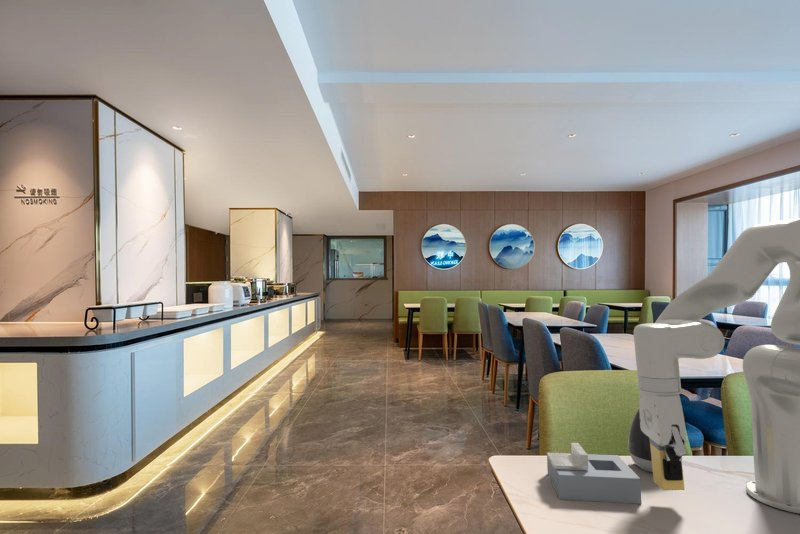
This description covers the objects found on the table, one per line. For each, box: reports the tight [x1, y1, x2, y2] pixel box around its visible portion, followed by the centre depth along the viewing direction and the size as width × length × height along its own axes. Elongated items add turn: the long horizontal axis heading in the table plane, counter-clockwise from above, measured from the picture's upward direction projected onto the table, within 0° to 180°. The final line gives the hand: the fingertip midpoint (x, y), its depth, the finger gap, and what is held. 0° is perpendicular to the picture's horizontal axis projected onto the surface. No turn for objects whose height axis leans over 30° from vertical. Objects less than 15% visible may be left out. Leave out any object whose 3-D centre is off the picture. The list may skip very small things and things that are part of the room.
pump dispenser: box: [627, 408, 653, 473], centre depth 102 cm, size 10×10×15 cm
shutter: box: [546, 442, 588, 471], centre depth 93 cm, size 7×7×3 cm
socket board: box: [546, 452, 642, 505], centre depth 92 cm, size 16×12×5 cm
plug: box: [649, 438, 685, 491], centre depth 85 cm, size 4×4×10 cm
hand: (667, 473), depth 85 cm, fingers closed on plug, 4 cm apart
